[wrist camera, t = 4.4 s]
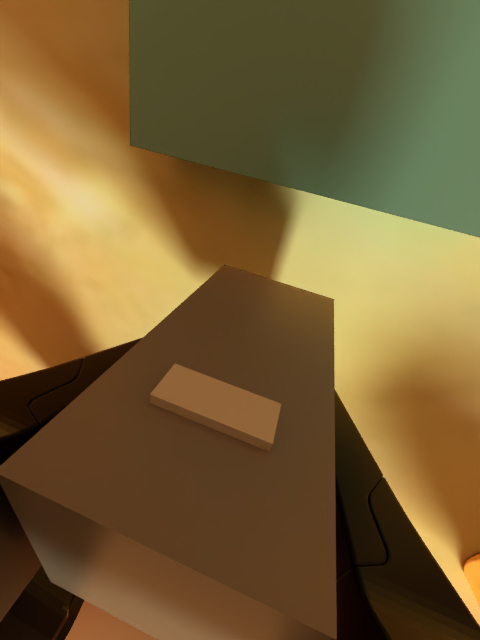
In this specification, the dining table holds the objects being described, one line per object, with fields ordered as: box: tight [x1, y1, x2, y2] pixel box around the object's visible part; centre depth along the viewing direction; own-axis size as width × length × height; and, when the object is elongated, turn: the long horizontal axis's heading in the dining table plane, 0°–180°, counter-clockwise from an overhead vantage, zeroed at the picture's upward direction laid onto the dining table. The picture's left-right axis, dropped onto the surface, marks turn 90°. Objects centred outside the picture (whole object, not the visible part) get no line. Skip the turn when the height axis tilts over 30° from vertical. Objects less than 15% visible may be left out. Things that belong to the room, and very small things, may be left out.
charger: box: [0, 265, 337, 640], centre depth 7 cm, size 4×4×8 cm
